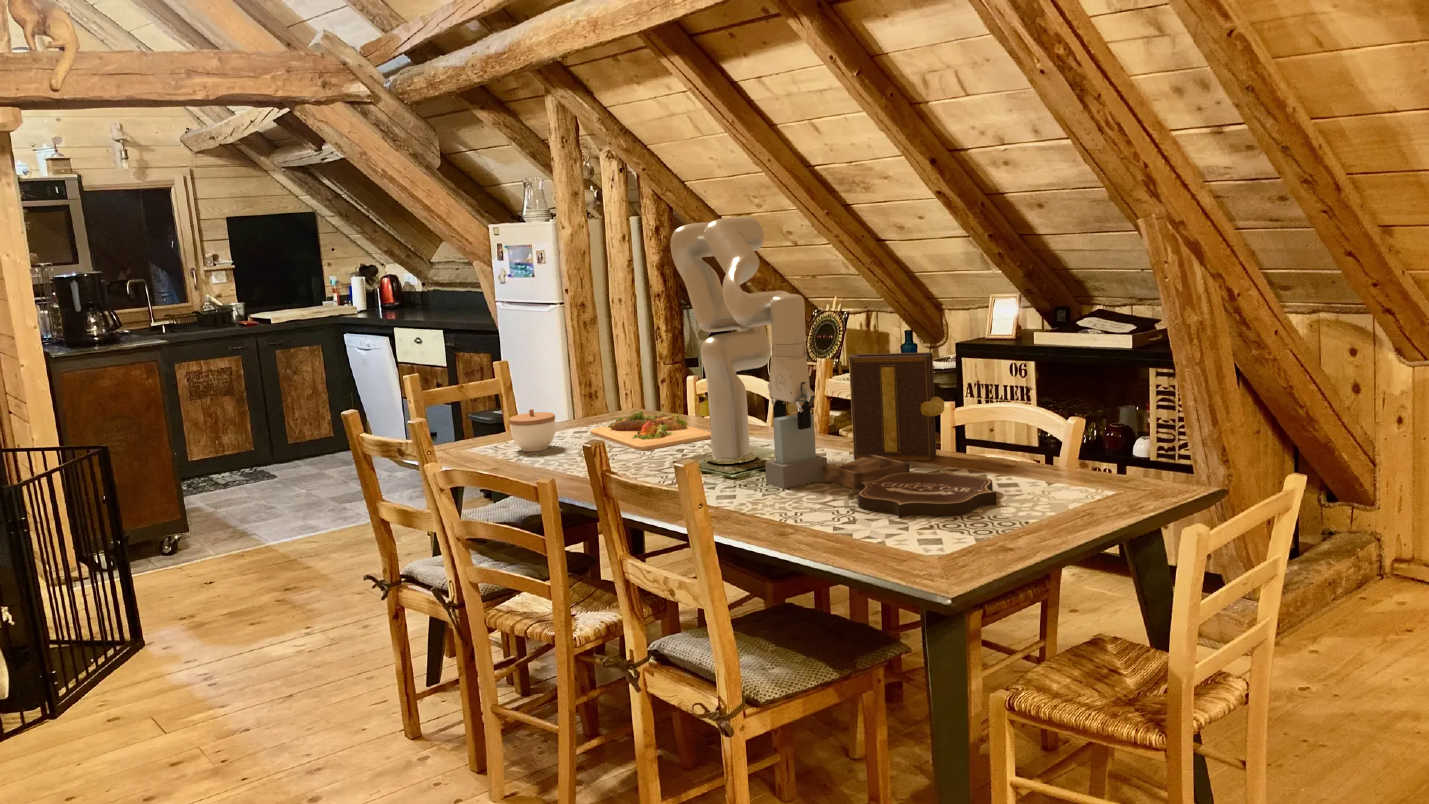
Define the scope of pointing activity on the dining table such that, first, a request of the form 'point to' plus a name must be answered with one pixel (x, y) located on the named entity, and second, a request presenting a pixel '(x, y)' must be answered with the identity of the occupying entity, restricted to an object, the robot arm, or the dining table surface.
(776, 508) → the dining table surface
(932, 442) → the book
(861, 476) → the square wooden tray
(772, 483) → the holder
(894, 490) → the decorative plaque
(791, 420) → the panel
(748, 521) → the dining table surface
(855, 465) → the offcut top
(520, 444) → the lidded bowl
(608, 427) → the cutting board
